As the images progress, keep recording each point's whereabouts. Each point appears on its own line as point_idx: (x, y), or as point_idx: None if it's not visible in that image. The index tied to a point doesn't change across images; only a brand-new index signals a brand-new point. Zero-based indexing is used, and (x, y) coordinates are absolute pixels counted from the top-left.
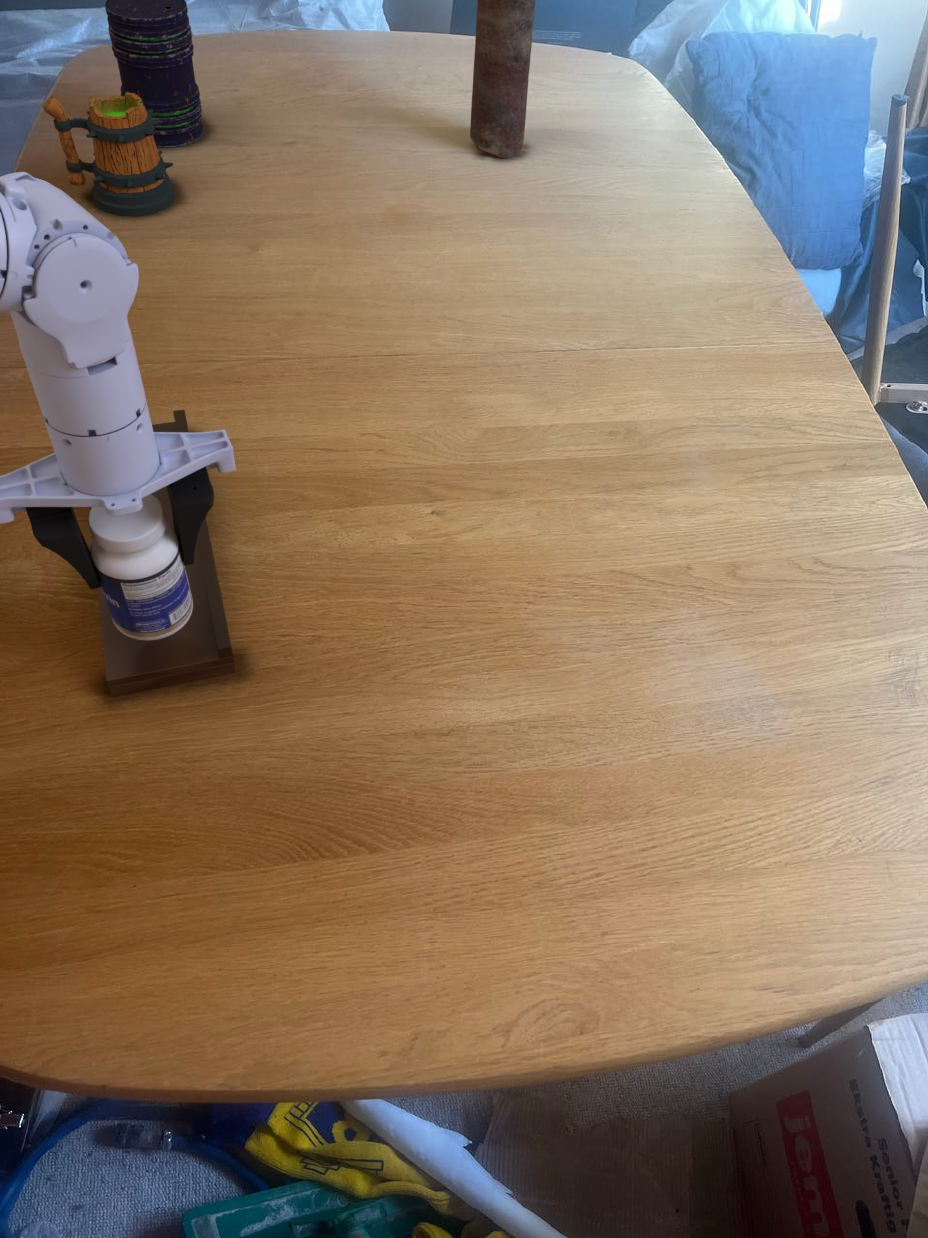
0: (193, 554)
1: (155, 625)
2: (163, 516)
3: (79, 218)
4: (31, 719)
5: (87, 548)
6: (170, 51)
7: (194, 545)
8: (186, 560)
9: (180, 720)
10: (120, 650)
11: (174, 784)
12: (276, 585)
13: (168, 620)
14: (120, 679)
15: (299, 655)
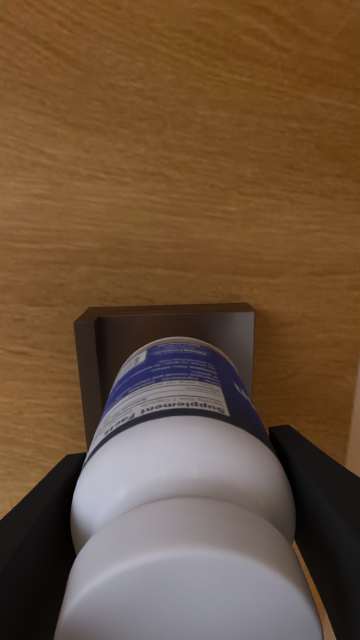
0: (48, 474)
1: (172, 347)
2: (55, 632)
3: None
4: (345, 290)
5: (300, 531)
6: None
7: (25, 497)
8: (73, 462)
9: (166, 246)
10: (231, 358)
11: (183, 141)
12: (29, 433)
13: (148, 353)
14: (236, 310)
15: (3, 317)
